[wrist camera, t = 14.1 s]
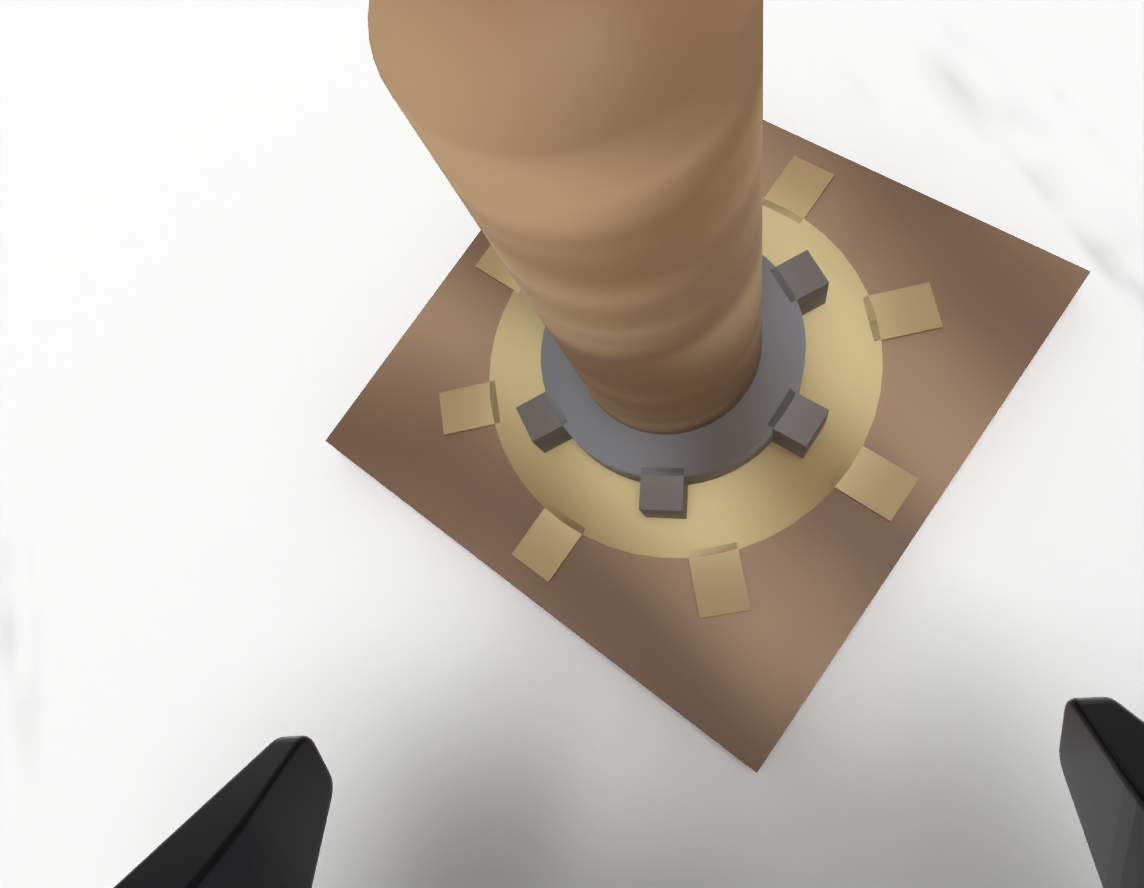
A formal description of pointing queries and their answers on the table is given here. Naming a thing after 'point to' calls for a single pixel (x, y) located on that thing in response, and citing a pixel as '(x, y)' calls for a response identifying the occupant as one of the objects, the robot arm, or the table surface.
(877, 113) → the table surface
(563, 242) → the gear spindle
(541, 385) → the gear board
